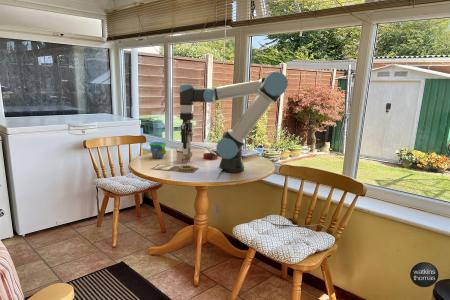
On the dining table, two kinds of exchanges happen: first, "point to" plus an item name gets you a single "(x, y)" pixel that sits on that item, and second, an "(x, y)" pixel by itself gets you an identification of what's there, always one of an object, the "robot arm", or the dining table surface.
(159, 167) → the board
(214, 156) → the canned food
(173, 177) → the dining table surface
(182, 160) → the teacup with lid
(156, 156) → the snack cup
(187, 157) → the carved statue
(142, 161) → the dining table surface
